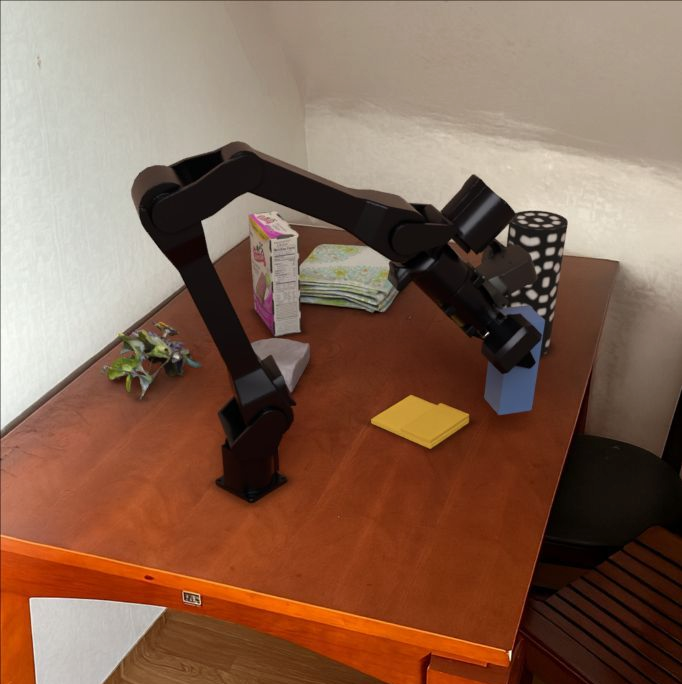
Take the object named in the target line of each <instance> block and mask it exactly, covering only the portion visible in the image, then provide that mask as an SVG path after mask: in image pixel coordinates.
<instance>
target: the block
mask: <svg viewBox="0 0 682 684" xmlns="http://www.w3.org/2000/svg"><path fill="white" fill-rule="evenodd" d="M499 311H501V312H502V313H503V314H504V315H507V314H519V313H520V314H521V315H523V316H524V317H525V318H526V319H527V320H528V321H529V322H530V323H531V324H532V325H533V326H534V327H535V328H536V329H537V330H538V331H539V332H540V333H541V334H542V338H543V331H544V325H545V320H544V319H543V318H542V317H541V316H540V315H539V314H538V313H537V312H535V311H534V310H533V309H532V308H531V307H530V306H529V305H525V306H516V307H508V308H503V309H502V310H500V309H499ZM494 321H495V322H496V323H497V324H498V325H500V323H499V322H498V321H497V320H496V319H495V320H494ZM492 332H493V331H492ZM542 338H541V341H540V342H539V343H538V344H537V345H536V346H535V347H534V348H533V349H532V350H531V353H532V355H533V357H534V359H535V361H536V363H535V365H534V366H533V367H532V368H530V369H528V368H523V367H519V366H514V367H513V368H512V369H511V370H510V371H509V372H508V373H506V374H501V373H500V372H499V371H498V370H497V369H496V368H495V367H494V366H493V365H492V364H491V363H490V362H489V361H488V360H487V361H488V362H487V370H486V378H485V387H484V393H483V394H484V395H483V399H484V400H485V401H486V403H488V405H489V406H490V407H491V408H492V409H493V411H494V412H495V413H496V414H497V415H498V416H502V415H503V416H504V415H510V414H517V413H524V412H530V411H531V412H532V411H533V405H534V404H533V403H534V397H535V390H536V383H537V379H538V378H537V377H538V372H539V365H540V364H539V363H540V358H541V356H540V351H541V345H542Z"/></svg>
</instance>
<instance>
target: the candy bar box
mask: <svg viewBox="0 0 682 684" xmlns="http://www.w3.org/2000/svg"><path fill="white" fill-rule="evenodd" d="M248 229H249V230H248V231H249V245H250V246H249V247H250V259H251V277H252V292H253V295H252V296H253V309H254V311H255V312H256V314H257V315H258V316H259V318H260V320H262V322H263V323H264V325H265V326H266V327H267V328H268V330H269V331H270V332H271V334H272V335H273V337H283V336H288V335H293V334H300V333H302V311H301V310H302V308H301V305H302V303H301V301H300V265H301V263H300V234H299V233H298V232H297V231H296V230H295V229H294V228H293V227H292V226H291V225H290V224H289V223H288V222H287V221H286V220H285V219H284V218H283V216H281V214H280V213H279V212H278V211H276V210H275V211H273V210H272V211H264V212H258V213H257V212H254V213H251V214H248Z"/></svg>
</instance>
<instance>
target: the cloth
mask: <svg viewBox="0 0 682 684" xmlns="http://www.w3.org/2000/svg"><path fill="white" fill-rule="evenodd" d="M469 423H470V414H469V413H466V412H464V411H463V410H459V409H457V408H456V407H455V408H454V407H452V406H449V405H447V404H445V403H442V402H439V403H438V404H435V403H432V402H430V401H427V400H425V399H423V398H421V397H418V396H416V395H413V394H410V395H408V396H406V397H405V398H403V399H401V400H400V401H399V402H397V403H395V404H393V405H392V406H390V407H389V408H387V409H385V410H384V411H382V412H380V413H379V414H377V415H376V416H374V417H372V418H371V419H370V424H371V425H375V426H377V427H379V428H381V429H384V430H386V431H388V432H390V433H392V434H395V435H397V436H400V437H401V438H404V439H406V440H409V441H410V442H413V443H416V444H418V445H420V446H423V447H425V448H427V449H429V450H431V449H432V448H434V447H435V446H437V445H439V444H440V443H441V442H443V441H444V440H446V439H447V438H449V437H451V435H453V434H454V433H456V432H458V431H459V430H460V429H462V428H463V427H465V426H466V425H468V424H469Z"/></svg>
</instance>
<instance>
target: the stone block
mask: <svg viewBox="0 0 682 684" xmlns="http://www.w3.org/2000/svg"><path fill="white" fill-rule="evenodd" d="M250 343H251V346H252V348H253V350H254V351H255V353H256V354H257V355H258V356H259V357H260V359H261V360H263V359H265V358H266V357H268V356H269V355H272V356H273V358H274V360H275V362H276V364H277V365H278V367H279V369H280V371H281V373H282V375H283V377H284V380H285V383H286V385H287V387H288V389H289V390H290V392H291V394H293V392H294V390H295V388H296V386H297V385H298V383H299V380H300V379H301V377H302V375H303V373H304V371H305V370H306V369H307V366H308V364H309V362H310V359H311V351H310V350H311V349H310V348H311V346H310V343H308V342H306V343H304V342H301V341H297V340H292V339H289V338H277V337H271V338H267V339H259V340H256V341H254V342H250Z"/></svg>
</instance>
